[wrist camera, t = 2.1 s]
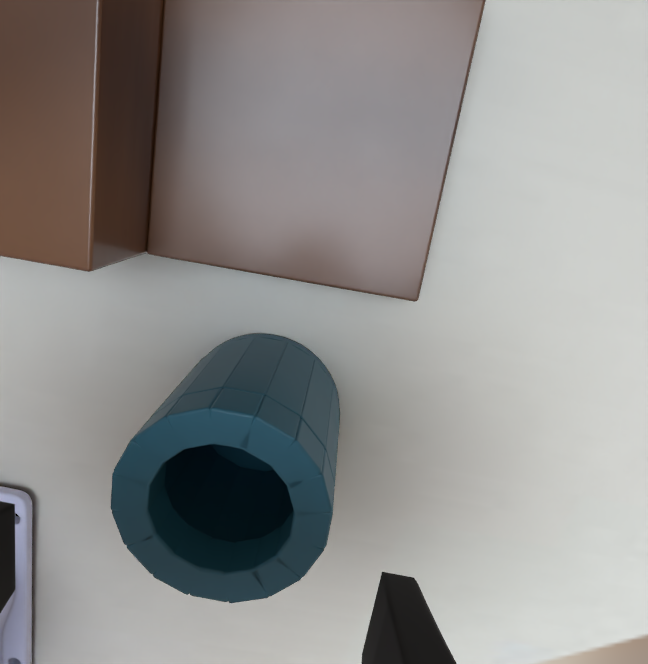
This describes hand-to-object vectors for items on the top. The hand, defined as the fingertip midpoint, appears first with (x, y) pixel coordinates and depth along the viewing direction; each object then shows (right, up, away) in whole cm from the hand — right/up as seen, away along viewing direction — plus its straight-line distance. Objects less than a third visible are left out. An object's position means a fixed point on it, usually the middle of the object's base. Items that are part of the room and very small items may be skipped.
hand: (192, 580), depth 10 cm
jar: (0, +2, +8) cm, 8 cm away
